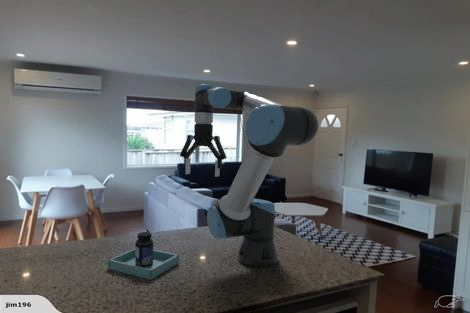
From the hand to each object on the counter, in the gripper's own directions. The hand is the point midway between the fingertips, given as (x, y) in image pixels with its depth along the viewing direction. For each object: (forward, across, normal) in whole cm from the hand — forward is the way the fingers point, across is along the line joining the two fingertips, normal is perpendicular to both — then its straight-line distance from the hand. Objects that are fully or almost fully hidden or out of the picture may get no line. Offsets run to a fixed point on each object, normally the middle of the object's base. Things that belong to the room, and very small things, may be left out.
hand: (202, 175), depth 142 cm
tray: (+30, +8, +27) cm, 42 cm away
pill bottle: (+30, +8, +27) cm, 41 cm away
